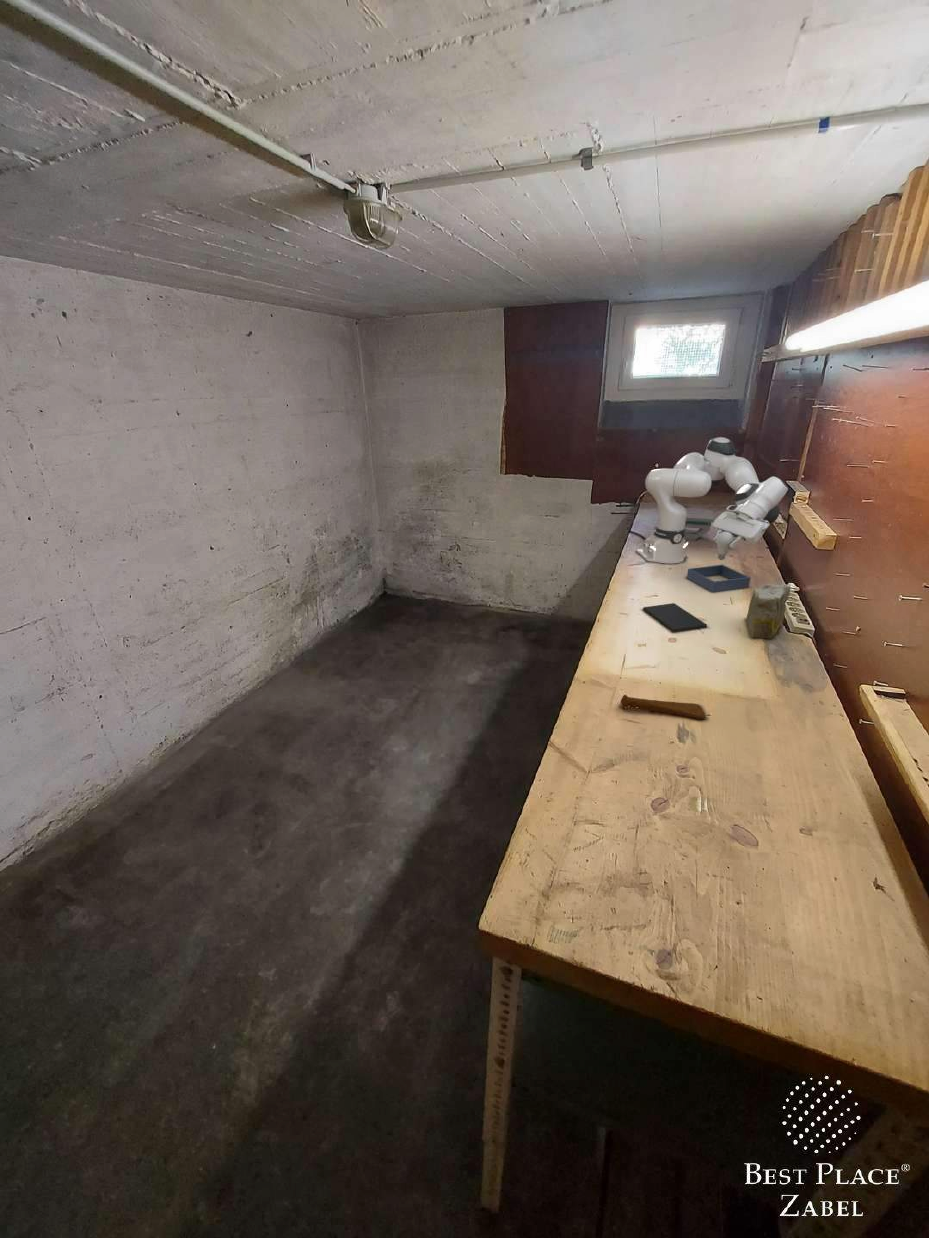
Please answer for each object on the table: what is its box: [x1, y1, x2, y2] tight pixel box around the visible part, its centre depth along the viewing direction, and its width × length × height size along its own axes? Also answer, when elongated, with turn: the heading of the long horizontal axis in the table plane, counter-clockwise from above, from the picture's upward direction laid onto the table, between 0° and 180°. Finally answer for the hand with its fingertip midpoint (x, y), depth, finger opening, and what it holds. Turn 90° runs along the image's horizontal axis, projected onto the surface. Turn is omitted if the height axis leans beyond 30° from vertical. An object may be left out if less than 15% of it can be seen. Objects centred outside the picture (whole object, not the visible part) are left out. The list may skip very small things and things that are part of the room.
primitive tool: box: [620, 694, 706, 720], centre depth 117 cm, size 19×6×4 cm, turn 82°
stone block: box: [746, 583, 791, 639], centre depth 150 cm, size 10×15×15 cm
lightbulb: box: [715, 532, 735, 561], centre depth 183 cm, size 6×6×11 cm
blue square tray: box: [686, 564, 751, 593], centre depth 188 cm, size 16×16×4 cm
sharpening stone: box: [684, 513, 716, 541], centre depth 242 cm, size 25×8×11 cm, turn 62°
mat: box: [642, 602, 708, 633], centre depth 163 cm, size 18×12×1 cm, turn 12°
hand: (722, 544), depth 182 cm, fingers closed on lightbulb, 6 cm apart
